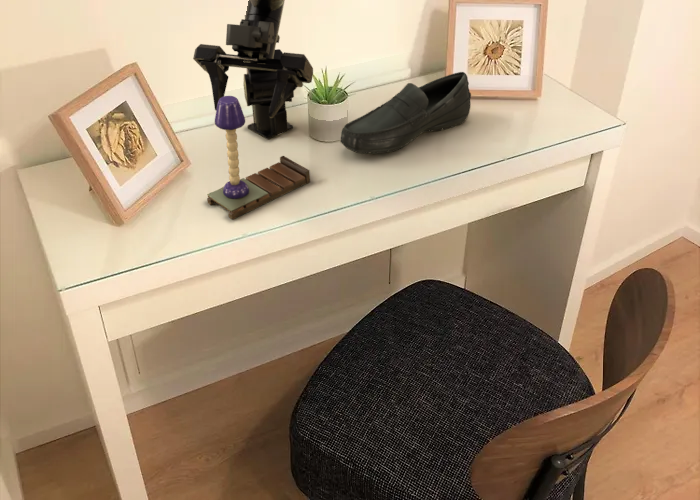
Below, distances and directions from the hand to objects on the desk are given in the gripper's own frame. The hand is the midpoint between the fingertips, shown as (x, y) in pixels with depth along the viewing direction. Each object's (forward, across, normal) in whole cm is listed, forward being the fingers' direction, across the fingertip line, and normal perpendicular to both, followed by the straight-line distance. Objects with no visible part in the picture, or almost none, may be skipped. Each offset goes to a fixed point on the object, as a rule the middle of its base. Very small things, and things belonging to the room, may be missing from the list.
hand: (243, 114), depth 121 cm
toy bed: (+11, +2, +8) cm, 14 cm away
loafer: (-7, +22, +26) cm, 35 cm away
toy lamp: (+12, 0, +4) cm, 13 cm away
